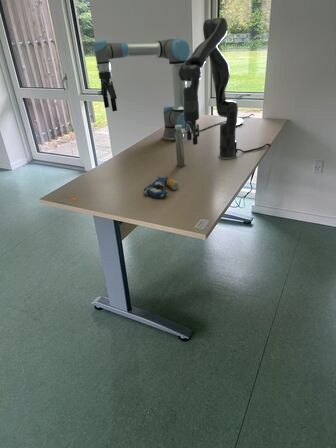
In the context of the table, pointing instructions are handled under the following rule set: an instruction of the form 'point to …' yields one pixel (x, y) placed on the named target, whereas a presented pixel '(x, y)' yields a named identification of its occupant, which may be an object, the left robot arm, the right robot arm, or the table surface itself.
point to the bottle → (179, 148)
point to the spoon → (239, 121)
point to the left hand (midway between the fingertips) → (110, 109)
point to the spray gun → (160, 183)
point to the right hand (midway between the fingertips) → (192, 142)
